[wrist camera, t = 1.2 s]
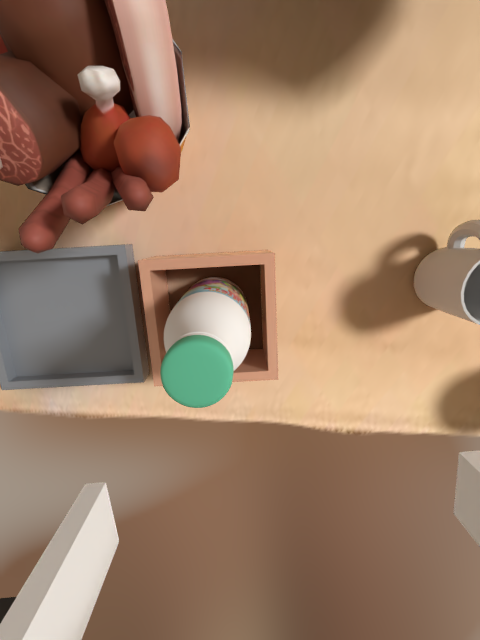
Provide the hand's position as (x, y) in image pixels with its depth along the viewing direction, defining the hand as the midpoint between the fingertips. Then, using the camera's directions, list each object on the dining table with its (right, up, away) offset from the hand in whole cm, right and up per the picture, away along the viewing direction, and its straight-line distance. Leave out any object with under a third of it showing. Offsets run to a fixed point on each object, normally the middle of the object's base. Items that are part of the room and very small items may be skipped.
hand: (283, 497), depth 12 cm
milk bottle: (-5, +8, +28) cm, 29 cm away
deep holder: (-5, +8, +27) cm, 29 cm away
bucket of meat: (-14, +26, +23) cm, 37 cm away
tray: (-22, +7, +27) cm, 36 cm away
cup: (+22, +13, +27) cm, 37 cm away
